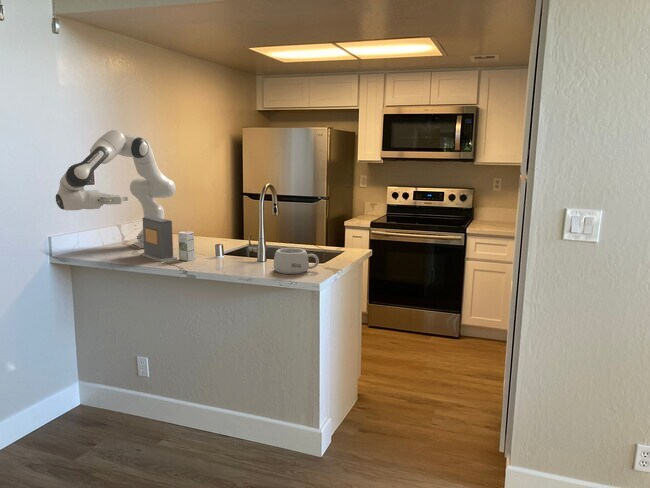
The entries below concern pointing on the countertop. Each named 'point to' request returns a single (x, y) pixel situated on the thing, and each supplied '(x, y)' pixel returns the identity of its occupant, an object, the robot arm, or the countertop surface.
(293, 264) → the mug
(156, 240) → the switch button
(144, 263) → the countertop surface
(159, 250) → the switch box
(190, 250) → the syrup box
